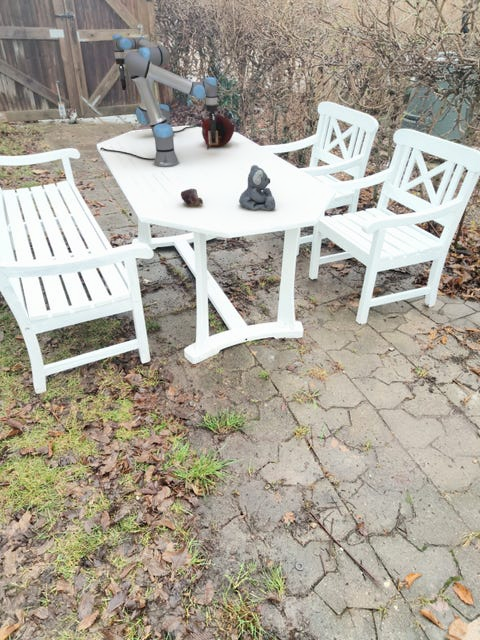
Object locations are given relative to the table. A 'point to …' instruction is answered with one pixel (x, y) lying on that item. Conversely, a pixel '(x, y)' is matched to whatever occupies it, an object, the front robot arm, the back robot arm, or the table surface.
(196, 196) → the rock
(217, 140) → the block
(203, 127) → the dark red rounded piece
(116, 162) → the table surface
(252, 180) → the koala plush
